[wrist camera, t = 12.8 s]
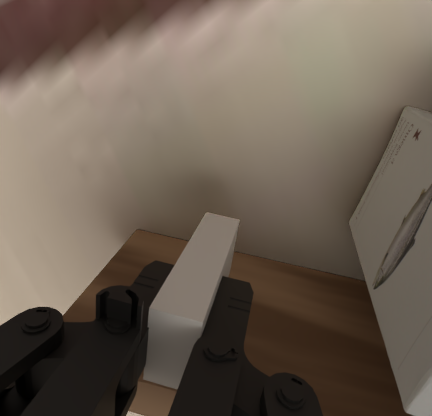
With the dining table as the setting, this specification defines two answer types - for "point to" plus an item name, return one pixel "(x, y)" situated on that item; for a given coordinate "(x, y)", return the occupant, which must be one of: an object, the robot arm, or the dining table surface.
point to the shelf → (279, 329)
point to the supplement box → (402, 255)
